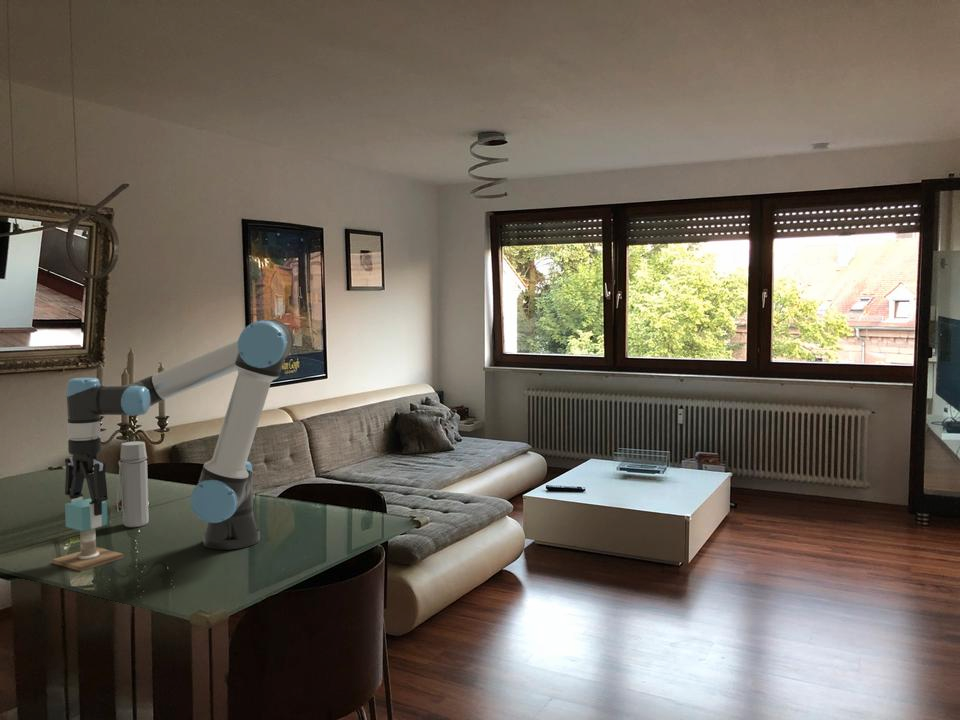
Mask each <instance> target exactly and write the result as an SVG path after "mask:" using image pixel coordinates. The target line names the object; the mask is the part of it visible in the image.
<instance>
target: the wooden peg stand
mask: <svg viewBox="0 0 960 720" xmlns="http://www.w3.org/2000/svg"><path fill="white" fill-rule="evenodd" d="M96 537H97V536H96V528H93V529H89V530H85V531H80V530H79V542H80V543H79V547H80V551H76V552H73V553H70V554H67V555H66V554H65V555H63V556H59V557H56V558H53V559H51V561H52V564H54V565H58V566H61V567H64V568H68V569H71V570H75V571H78V572H83V571H86V570H90V569H93V568H97V567H99V566H102V565H106V564H109V563H112V562H115V561H117V560H120V559H124V558H125V554H124V553H123V552H122V553H121V552H119V551H118V552H117V551H114V550H109V549H107V548H102V547H98V546H97V540H96Z"/></svg>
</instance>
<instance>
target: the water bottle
mask: <svg viewBox="0 0 960 720" xmlns="http://www.w3.org/2000/svg"><path fill="white" fill-rule="evenodd" d="M147 459H148V456H147V448H146V442H145V441H137V440H136V441H126V442H122V443H121V445H120V459H119V460H118V462H117V463H118V467H119V469H118V470H119V471H118V481H117V482H118V483H117V495H116V503H115V504H116V509H117V512H118V513H122V524H123V525H124V526H125V528H140V527H144V526H146V525H147V524H149V522H150V520H149V518H150V516H149V515H150V514H149V484H148V483H149V481H148V480H149V479H148V460H147ZM120 492H121V493H120ZM119 495H121V496H120V497H121V509H120V510H119Z"/></svg>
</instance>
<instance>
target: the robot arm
mask: <svg viewBox="0 0 960 720" xmlns="http://www.w3.org/2000/svg"><path fill="white" fill-rule="evenodd" d="M293 347H294V335H293V333H292V330H291V329H290V327H288V326H287V324H286V323H284V322H282V321H279V320H277V319H276V320H275V319H263V320H257V321H253V322H251V323H250V324H248V325H247V326H246V327H245V328H244V329H243V330H242V331H241V333H239V336H238V339H237V340H236V341H233V342H231V343H228V344H226V345H224V346H221V347H219V348H216V349H214V350H212V351H209V352H206V353H204V354H201V355H199V356H196V357H194V358H192V359H190V360H186V361H185V362H182V363H180V364H177V365H174V366H173V367H170V368H168V369H165V370H162V371H160V372H157V373H155V374H153V375H150V376H147V377H145V378H142V379H140V380H137V381H134V382H131V383H127V384H124V385H101V383H100V379H99V378H97V377H75V378H74V377H73V378H71V379H69V380H68V381H67V384H66V396H65V398H66V407H67V408H66V409H67V438H69V439H68V440H67V442H68V443H67V444H68V445H67V446H68V448H67V449H68V454H70V455H72V457H66V458H65V459H64V462H65V485H64V486H65V487H64V494H65V496H69V499H70V503H72V502H76V501H80V500H84V497H83V496H84V494H83V493H82V492H83V491H82V490H83V486H84V481H85V480H86V483H87V487H88V491H89V496H90V498H91V500H92V502H89V503H90V528H91V529H93V528H95V529H96V528H101V527H103V526H102V502H103V501H105V502H106V501H107V500H108V499H109V498H108V487H107V478H106V465H107V463H106V461H105V462H104V461H103V462H100V461H99V459H98V453H100V452H101V451H102V439H101V438H100V435H101V416H107V415H108V416H130V417H133V416H141V415H145V414H146V413H148V410H149V409H150V407H153V406H154V405H156V404H158V403H161V402H163V401H165V400H167V399H170V398H172V397H175V396H177V395H180V394H183V393H184V392H188V391H190V390H192V389H195V388H197V387H200V386H203V385H205V384H207V383H210V382H212V381H214V380H217V379H219V378H222V377H224V376H226V375H227V376H228V375H230V374H232V373H234V372H238V374H237V376H236V379H235V382H234V386H233V389H232V393H231V396H230V399H229V402H228V406H227V410H226V413H225V416H224V419H223V422H222V426H221V428H220V432H219V436H218V439H217V442H216V445H215V448H214V452H213V454H212V458H211V459H210V460H208V461H206V462H204V464H203V467H202V470H201V473H200V476H199V479H198V483H197V484H196V485H195V487H194V488H193V489H192V492H191V494H190V499H189V503H190V507H191V510H192V511H193V513H194V515H195V516H197V518H199V519H200V520H202V521H203V522H207V525H206V530H205V532H204V534H203V546H204V547H205V548H208V549H211V550H219V551H221V550H222V551H223V550H224V551H225V550H228V551H229V550H237V549H242V548H248V547H250V546H253V545H255V544H257V543H258V542H259V541H260V540H261V538H260V537H261V534H260V533H261V532H260V529H259V527H258V523H257V521H256V518H255V516H254V508H253V506H254V504H253V503H254V499H253V498H254V495H253V493H254V491H253V488H254V487H253V486H254V485H253V474H254V471H253V464H252V463H251V461H248V458H249V455H250V452H251V448H252V446H253V443H254V439H255V435H256V433H257V429H258V426H259V423H260V420H261V415H262V413H263V409H264V407H265V403H266V400H267V396H268V393H269V390H270V387H271V383H272V382H273V381H274V380H276V379H279V378H280V375H281V371H282V368H283V365H284V362H285V359H286V358H287V357H288V356H289V355H290V353H291V352H292V350H293Z"/></svg>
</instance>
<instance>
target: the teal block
mask: <svg viewBox="0 0 960 720" xmlns="http://www.w3.org/2000/svg"><path fill="white" fill-rule="evenodd" d="M89 502H92V500H91V497H90V498H86V499H83V500H80V501H76V502H72V503H71V502H67V503H65V504H64V506H65V507H64V509H65V511H64V512H65V515H64V517H65V528H69V529H73V530H77V531H79V532H80V531H85V530H89V529H91V528H90V503H89ZM107 525H108V502H107V501H106V500H105V501H103V502H102V526H101V527H104V526H107Z"/></svg>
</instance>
